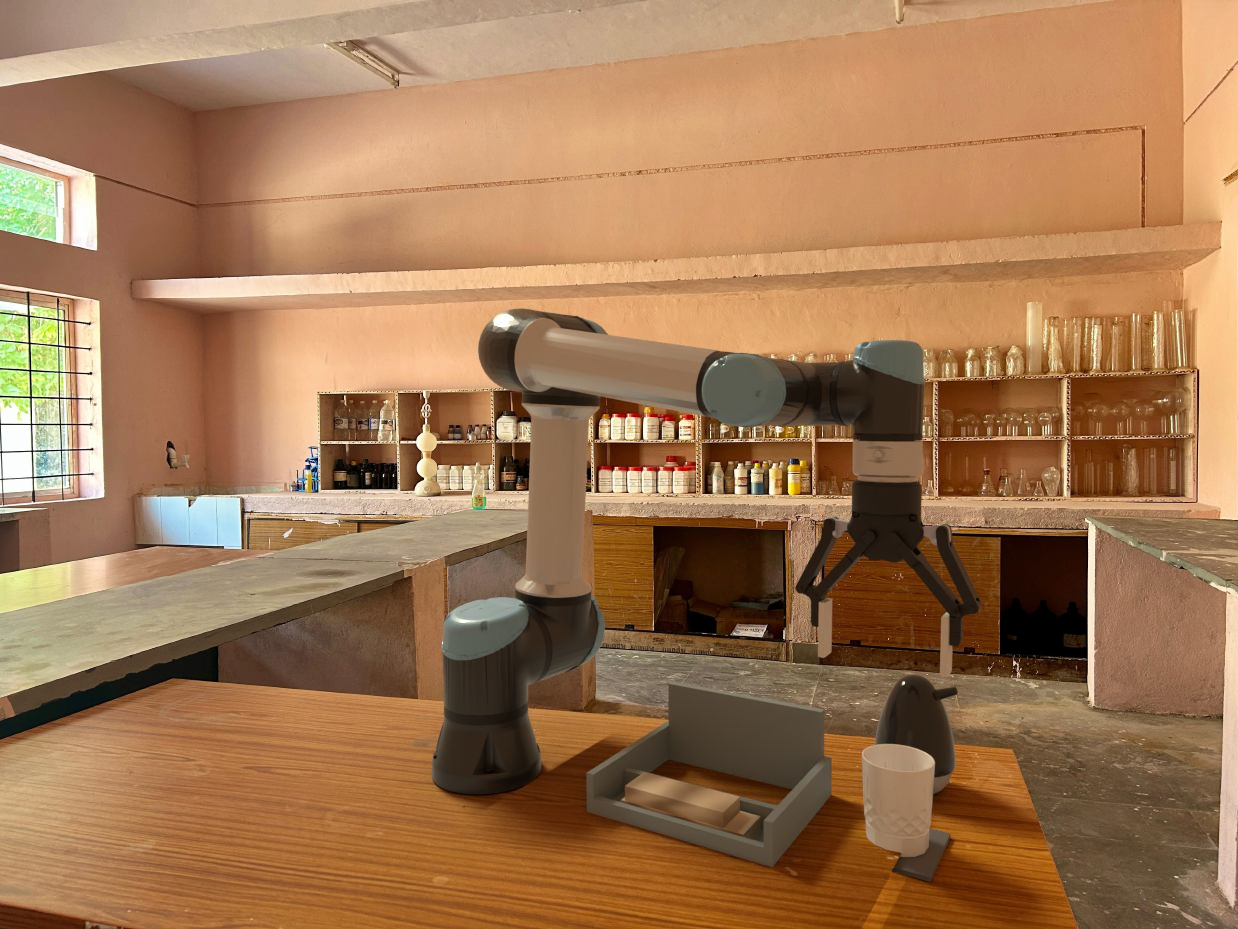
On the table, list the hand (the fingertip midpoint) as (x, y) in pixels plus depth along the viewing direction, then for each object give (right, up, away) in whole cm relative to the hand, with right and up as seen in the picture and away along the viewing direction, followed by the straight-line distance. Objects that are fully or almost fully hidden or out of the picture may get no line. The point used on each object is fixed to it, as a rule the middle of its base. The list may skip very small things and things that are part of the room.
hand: (882, 664), depth 93 cm
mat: (+1, -21, 0) cm, 21 cm away
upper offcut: (-23, -18, +4) cm, 29 cm away
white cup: (+2, -21, 0) cm, 21 cm away
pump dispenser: (+9, -20, +15) cm, 27 cm away
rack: (-19, -21, +9) cm, 29 cm away
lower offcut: (-22, -20, +3) cm, 30 cm away
